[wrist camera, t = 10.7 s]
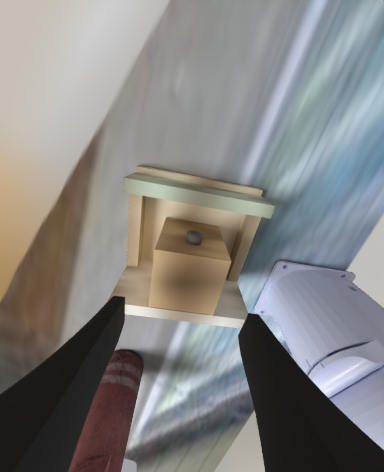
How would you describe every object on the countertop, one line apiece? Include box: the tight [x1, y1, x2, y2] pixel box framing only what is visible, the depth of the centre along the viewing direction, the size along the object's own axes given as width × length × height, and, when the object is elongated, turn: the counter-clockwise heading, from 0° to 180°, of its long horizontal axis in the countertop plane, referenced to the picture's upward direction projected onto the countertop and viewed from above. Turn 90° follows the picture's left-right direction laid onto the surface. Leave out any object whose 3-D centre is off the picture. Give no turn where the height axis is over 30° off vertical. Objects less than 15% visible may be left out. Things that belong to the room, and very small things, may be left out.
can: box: [68, 350, 144, 472], centre depth 22 cm, size 6×6×14 cm
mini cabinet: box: [148, 217, 231, 315], centre depth 15 cm, size 5×6×6 cm
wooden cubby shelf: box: [108, 165, 275, 328], centre depth 15 cm, size 11×10×7 cm
